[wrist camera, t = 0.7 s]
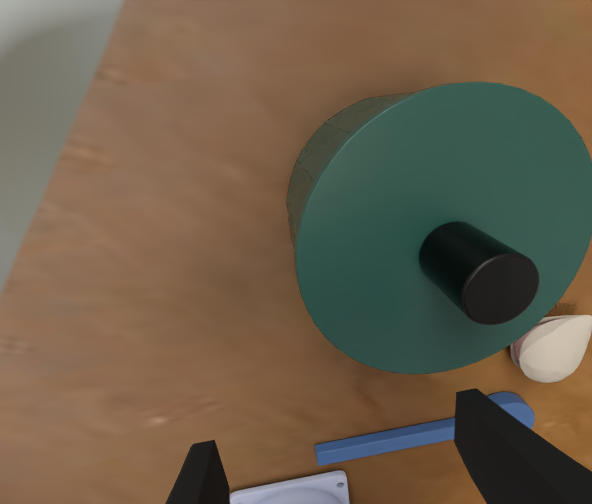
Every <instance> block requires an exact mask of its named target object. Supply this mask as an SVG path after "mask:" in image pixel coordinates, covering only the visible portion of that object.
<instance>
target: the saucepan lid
mask: <svg viewBox="0 0 592 504" xmlns="http://www.w3.org/2000/svg"><path fill="white" fill-rule="evenodd" d="M591 236H592V162H591V158H590V155H589V152H588V150H587V148H586V146H585V144H584V142H583V140H582V138H581V136H580V135H579V133H578V132H577V131H576V129H575V128H574V126H573V125H572V124H571V122H570V121H569V120H568V119H567V118H566V117H565V116H564V115H563V114H562V113H561V112H560V111H559V110H558V109H557V108H555V107H554V106H552V105H551V104H549V103H548V102H546V101H545V100H544V99H542V98H541V97H539V96H537V95H534V94H532V93H530V92H527V91H525V90H523V89H520V88H516V87H512V86H509V85H505V84H501V83H489V82H466V83H452V84H445V85H440V86H436V87H431V88H427V89H424V90H421V91H418V92H416V93H413V94H410V95H407V96H405V97H403V98H401V99H399V100H397V101H395V102H393V103H391V104H389V105H387V106H385V107H383V108H382V109H380V110H379V111H378V112H376V113H375V114H373V115H372V116H370V117H369V118H368V119H366V120H365V121H363V122H362V123H361V124H360V125H359V126H358V127H357V128H355V129H354V130H353V131H352V132H351V133H350V134H349V135H348V136H347V137H345V139H344V140H343V141H342V142H341V143H340V144H339V145H338V147H337V148H336V149H335V150H334V151H333V152H332V154H331V155H330V156H329V157H328V159H327V160H326V162H325V163H324V165H323V166H322V168H321V169H320V171H319V172H318V174H317V176H316V178H315V180H314V182H313V184H312V186H311V188H310V189H309V191H308V193H307V196H306V199H305V202H304V205H303V207H302V210H301V213H300V217H299V222H298V227H297V231H296V240H295V267H296V275H297V279H298V284H299V288H300V292H301V295H302V298H303V301H304V303H305V306H306V308H307V311H308V313H309V314H310V316H311V318H312V320H313V321H314V323H315V325H316V326H317V327H318V329H319V330H320V331H321V332H322V334H323V335H324V336H325V337H326V338H327V339H328V340H329V341H330V342H331V343H332V344H333V345H334V346H335V347H336V348H338V349H339V350H340V351H342V352H343V353H345V354H346V355H348V356H349V357H351V358H353V359H355V360H357V361H359V362H361V363H363V364H365V365H368V366H371V367H374V368H376V369H379V370H384V371H389V372H394V373H404V374H429V373H437V372H444V371H448V370H452V369H457V368H461V367H464V366H467V365H469V364H472V363H475V362H478V361H480V360H482V359H484V358H487V357H489V356H491V355H493V354H495V353H497V352H499V351H500V350H502V349H504V348H505V347H507V346H509V345H510V344H512V343H513V342H515V341H516V340H518V339H519V338H520V337H522V336H523V335H525V334H526V333H527V332H528V331H529V330H530V329H532V328H533V327H534V326H535V325H536V324H537V323H539V322H540V321H541V319H542V318H543V317H544V316H545V315H546V314H547V313H548V312H549V311H550V310H551V309H552V308H553V307H554V305H555V304H556V303H557V302H558V301H559V299H560V298H561V297H562V296H563V294H564V293H565V291H566V290H567V288H568V287H569V285H570V284H571V282H572V281H573V279H574V277H575V275H576V273H577V271H578V270H579V268H580V266H581V264H582V262H583V259H584V257H585V254H586V252H587V249H588V246H589V243H590V240H591Z"/></svg>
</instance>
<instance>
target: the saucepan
mask: <svg viewBox="0 0 592 504" xmlns="http://www.w3.org/2000/svg"><path fill="white" fill-rule="evenodd" d="M410 94H413V93H402V94H395V95H388V96H379V97H374V98H367V99H364V100H361V101H359V102H358V103H356V104H353V105H352V106H350V107H348V108H346V109H344V110H342V111H340V112H339V113H338V114H336V115H335V116H333V117H332V118H331V119H329V120H328V121H327V122H325V124H323V125H322V127H320V128H319V129H318V130H317V132H316V133H315V134H314V135H313V136H312V138H311V139H310V140H309V141H308V143H307V144H306V146H305V147H304V149H303V151H302V152H301V154H300V156H299V158H298V160H297V161H296V164H295V167H294V170H293V173H292V176H291V179H290V184H289V189H288V196H287V199H286V201H287V202H286V204H287V211H288V220H289V225H290V232H291V239H292V242H293V245H294V249H295V240H296V231H297V227H298V222H299V217H300V213H301V210H302V207H303V205H304V202H305V199H306V196H307V193H308V191H309V189H310V188H311V186H312V184H313V182H314V180H315V178H316V176H317V174H318V172H319V171H320V169H321V168H322V166H323V165H324V163H325V162H326V160H327V159H328V157H329V156H330V155H331V154H332V152H333V151H334V150H335V149H336V148H337V147H338V145H339V144H340V143H341V142H342V141H343V140H344V139H345V137H347V136H348V135H349V134H350V133H351V132H352V131H353V130H354V129H355V128H357V127H358V126H359V125H360V124H361V123H362V122H363V121H365V120H366V119H368V118H369V117H370V116H372V115H373V114H375V113H376V112H378V111H379V110H380V109H382V108H383V107H385V106H387V105H389V104H391V103H393V102H395V101H397V100H399V99H401V98H403V97H405V96H407V95H410Z"/></svg>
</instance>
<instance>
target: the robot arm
mask: <svg viewBox="0 0 592 504" xmlns="http://www.w3.org/2000/svg"><path fill="white" fill-rule="evenodd" d="M454 442H455V445H456V447H457V449H458V451H459V453H460V455H461V457H462V460H463V462H464V464H465V466H466V468H467V470H468V472H469V474H470V476H471V478H472V479H473V481H474V483H475V485H476V486H477V488H478V489H479V491H480V493H481V494H482V496H483V498H484V499H485V501H486V503H487V504H592V472H591V471H590V470H588V469H587V468H585V467H584V466H582V465H581V464H579V463H578V462H576V461H575V460H573V459H572V458H570V457H569V456H567V455H566V454H564V453H563V452H562V451H560V450H559V449H557V448H556V447H555V446H553V445H552V444H550V443H549V442H548V441H546V440H545V439H543V438H542V437H540V436H539V435H538V434H536V433H535V432H534V431H532V430H531V429H529V428H528V427H527V426H525V425H524V424H523V423H521V422H520V421H519V420H517V419H516V418H515V417H513V416H512V415H511V414H509V413H508V412H507V411H505V410H504V409H503V408H501V407H500V406H499V405H498V404H496V403H495V402H494V401H492V400H491V399H490V398H488V397H487V396H486V395H484V394H483V393H482V392H480V391H479V390H478V389H476V388H475V389H470V390H465V391H460V392H456V410H455V431H454ZM166 504H229V485H228V481H227V478H226V475H225V472H224V469H223V465H222V462H221V459H220V456H219V453H218V449H217V446H216V443H215V440H211V441H206V442H201V443H196V444H193V445H192V446H191V448H190V450H189V452H188V455H187V457H186V459H185V462H184V464H183V466H182V469H181V471H180V473H179V476H178V478H177V480H176V482H175V484H174V487H173V489H172V491H171V493H170V495H169V497H168V499H167V501H166ZM230 504H350V502H349V493H348V484H347V477H346V473H345V472H344V471H341V470H338V471H333V472H328V473H323V474H318V475H313V476H308V477H303V478H298V479H293V480H288V481H283V482H278V483H273V484H268V485H263V486H258V487H253V488H248V489H243V490H238V491H234V492H233V493H231V495H230Z"/></svg>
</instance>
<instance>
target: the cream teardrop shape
mask: <svg viewBox="0 0 592 504" xmlns="http://www.w3.org/2000/svg"><path fill="white" fill-rule="evenodd" d="M591 331H592V316H590V315H562V316H553V317H545V318H542V319H541V321H540V322H539V323H537V324H536V325H535V326H534V327H533V328H532V329H530V330H529V331H528V332H527V333H526V334H525V335H523V336H522V337H520V338H519V339H518V340H516V341H515V342H513V343H512V344H511V346H510V349H511V358H512V360H513V362H514V364H515V365H516V366H517V367H519V368H520V369H522V370H523V372H524V374H525V375H526V376H527V377H529V378H530V379H532V380H534V381H539V382H544V383H551V382H556V381H560V380H562V379H564V378H566V377H567V376H569V375H571V374H572V373H573V372H574V370H575V369H576V368H577V367H578V366H579V364H580V362H581V360H582V358H583V355H584V353H585V351H586V348H587V345H588V342H589V339H590V335H591Z"/></svg>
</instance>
